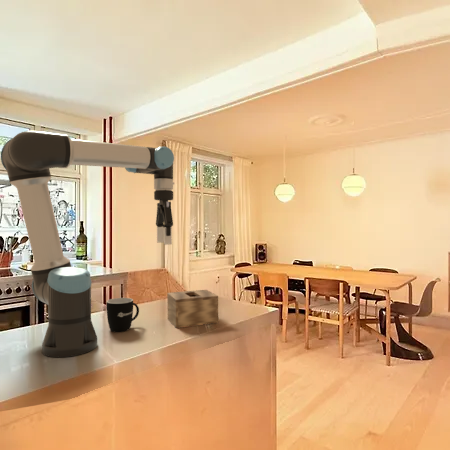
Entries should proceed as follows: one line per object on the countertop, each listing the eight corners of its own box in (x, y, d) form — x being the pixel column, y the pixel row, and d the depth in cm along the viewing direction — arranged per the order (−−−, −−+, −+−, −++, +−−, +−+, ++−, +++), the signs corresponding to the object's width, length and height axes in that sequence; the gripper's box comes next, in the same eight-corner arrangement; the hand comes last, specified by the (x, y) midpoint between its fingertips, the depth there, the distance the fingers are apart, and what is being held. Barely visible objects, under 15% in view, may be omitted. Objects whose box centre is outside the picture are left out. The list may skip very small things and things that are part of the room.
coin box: (175, 327, 126) (175, 299, 126) (167, 318, 138) (167, 292, 138) (218, 322, 132) (218, 295, 132) (206, 314, 144) (206, 289, 144)
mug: (115, 335, 118) (115, 304, 118) (101, 329, 125) (101, 300, 124) (145, 327, 127) (145, 298, 127) (131, 322, 133) (131, 295, 133)
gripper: (181, 187, 133) (181, 245, 133) (166, 192, 156) (166, 241, 156) (160, 187, 130) (161, 245, 130) (148, 192, 153) (148, 242, 153)
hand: (164, 243), depth 143 cm, fingers open, 13 cm apart
